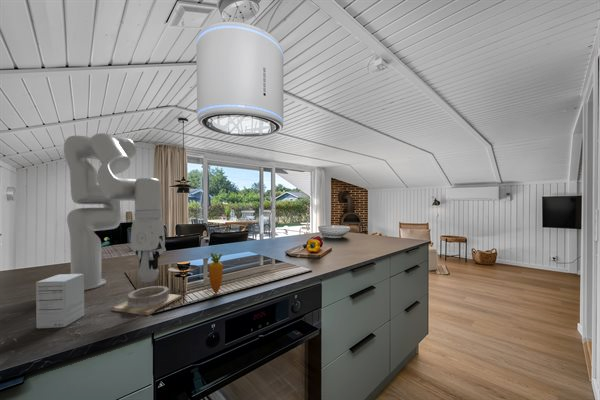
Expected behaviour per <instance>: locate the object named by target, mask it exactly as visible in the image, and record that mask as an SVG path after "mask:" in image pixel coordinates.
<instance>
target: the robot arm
mask: <svg viewBox="0 0 600 400" xmlns="http://www.w3.org/2000/svg"><path fill="white" fill-rule="evenodd" d="M136 152H137V146H136V144H135V143H134V141H133V140H132V139H130V138H128V137H125V136H119V135H115V134H111V133H106V132H105V133H104V132H100V133H96V134H94V135H92V136H88V135H87V136H86V135H70V136H68V137H67V138H66V139H65V140H64V143H63V155H64V157H65V160H66V163H67V166H68V169H69V175H70V176H69V178H70V181H69V182H70V195H71V196H70V197H71V199H72V202H73V203H74V204H77V205H102V206H103V207H81V208H75V209H72V210H71V211H70V212H68V214H67V217H66V222H67V227H68V231H69V232H68V233H69V239H70V240H69V241H70V246H69V247H70V274H84V291H86V290H92V289H97V288H99V287H102V286H104V285H106V283H107V280H106V279H105V278H102V241H101V238H100V237H99V236H98V234H96V233H95V232H96V231H97V232H98V231H107V230H114V229H117V228H118V227H119V226H120V224H121V220H122V217H121V216H122V215H121V212H122V211H121V201H122V202H123V201H124V202H125V201H129V202H130V201H133V202H134V219H133V220H132V224H131V229H130V242H129V243H130V245H129V246H130V249H131V251H132V252H133V253H135V255H136V256H137V259H138V261H139V262H138V263H139V266H138V267H139V269H140V264H141V259H142V254H143V251H149V252H150V260H149V269H151V266H152V268H153V269H157V268H158V269H159V259H160V257H161V256H162V254H164V253H166V252H167V249H166V246H165V245H166V236H165V235H166V234H165V226H164V221H163V219H162V182H161V180H160V179H158V178H154V177H140V178H128V177H127V178H126V177H117V176H116V175H119V174H121V173H124V172H125V171H127V170H128V169H129V168H130V166H131V159H132V158H134V157H135V156H136ZM88 159H89V160H88ZM90 159H91V160H92V159H93V160H99V162H100V163H101V164H100V166H99V168H98V170H97V168H96V167H95V166H94V164H93V163H92V162H91V161H90ZM154 252H155V254H154ZM139 269H138V270H139Z"/></svg>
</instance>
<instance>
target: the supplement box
mask: <svg viewBox="0 0 600 400" xmlns="http://www.w3.org/2000/svg"><path fill="white" fill-rule="evenodd" d="M35 301H36V302H35V304H36V305H35V308H36V309H35V311H36V318H35V320H36V322H35V323H36V328H37V329H51V328H53V329H54V328H65V327H67V326H69V325H70V324H72V323H74V322H75V321H77V320H79V319H80V318H82V317H84V316H85V290H84V274H71V273H68V274H67V273H63V274H56V275H53V276H50V277H47V278H44V279H41V280H39V281H35Z"/></svg>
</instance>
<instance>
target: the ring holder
mask: <svg viewBox="0 0 600 400" xmlns="http://www.w3.org/2000/svg"><path fill="white" fill-rule="evenodd" d="M181 297H182V298H183V296H182V294H173V293H170V288H169V287H168V286H166V285H165V286H163V285H154V286H147V287H142V288H141V287H140V288H138V289H136V290H135V289H134V290H133V291H130V292H129V293H128V294H127V301H123V302H121V303H119V304H116V305H114V306H112V307H111V311H114V312H121V313H127V314H128V313H130V314H134V315H135V314H137V315H142V316H150V315H151V314H153V313H152V312H153V311H155V310H156V309H158V308H160V307H162V306H164V305H166V304H168V303H171V302H173V301H175V300H177V299H179V298H181ZM182 298H181V299H182ZM179 300H180V299H179ZM177 301H178V300H177ZM175 302H176V301H175ZM173 303H174V302H173ZM171 304H172V303H171Z"/></svg>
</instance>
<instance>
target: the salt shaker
mask: <svg viewBox="0 0 600 400" xmlns="http://www.w3.org/2000/svg"><path fill="white" fill-rule="evenodd" d="M154 254H155V252H154ZM149 260H150V252H149V251H143V254H142V259H141V264H140V269H138V277H139V279H140V281H141V282H142V283H149V282H150V283H151V282H154V281H156V280H157V278H158V275H159V273H160V270H159V267H158V268H157V269H153V268H152V266H151V269H149Z"/></svg>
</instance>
